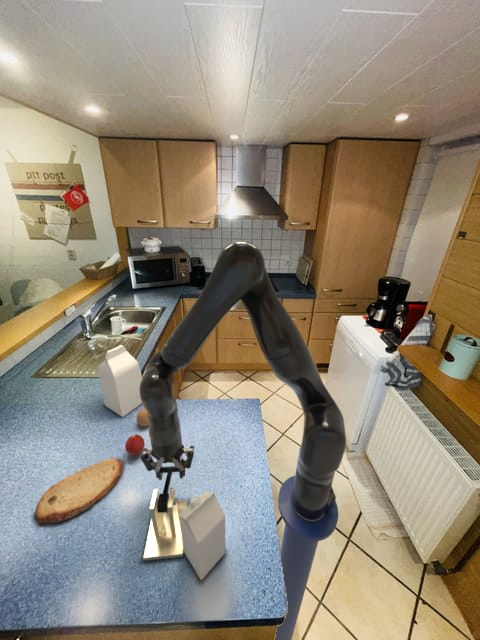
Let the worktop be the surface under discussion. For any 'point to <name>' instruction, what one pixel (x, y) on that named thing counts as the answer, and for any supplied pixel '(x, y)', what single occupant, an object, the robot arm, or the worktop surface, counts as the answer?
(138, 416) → the egg
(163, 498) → the switch lever
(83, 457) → the worktop surface
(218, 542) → the milk carton
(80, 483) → the slice of bread
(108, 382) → the milk
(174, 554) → the switch bracket
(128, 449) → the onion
